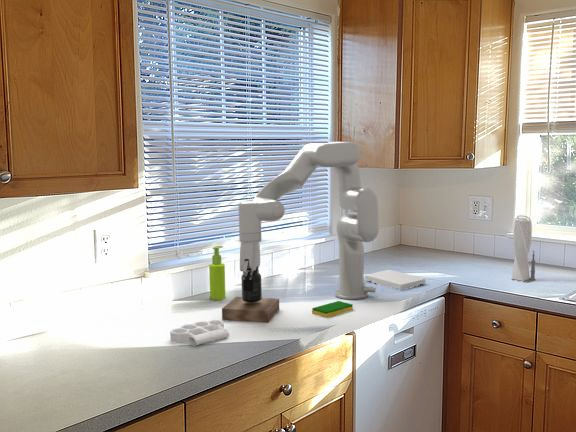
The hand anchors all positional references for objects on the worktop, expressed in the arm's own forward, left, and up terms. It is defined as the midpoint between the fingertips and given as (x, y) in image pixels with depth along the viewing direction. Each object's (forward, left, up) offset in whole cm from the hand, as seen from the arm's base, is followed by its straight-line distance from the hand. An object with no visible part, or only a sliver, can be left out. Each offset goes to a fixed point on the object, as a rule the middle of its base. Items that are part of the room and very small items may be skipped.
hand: (251, 287), depth 207 cm
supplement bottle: (0, 0, -5) cm, 5 cm away
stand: (0, 0, -10) cm, 10 cm away
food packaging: (-46, -56, -10) cm, 73 cm away
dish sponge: (-27, -9, -10) cm, 30 cm away
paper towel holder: (-99, -71, -10) cm, 122 cm away
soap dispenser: (+19, -20, -10) cm, 29 cm away
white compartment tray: (+9, +26, -10) cm, 29 cm away
